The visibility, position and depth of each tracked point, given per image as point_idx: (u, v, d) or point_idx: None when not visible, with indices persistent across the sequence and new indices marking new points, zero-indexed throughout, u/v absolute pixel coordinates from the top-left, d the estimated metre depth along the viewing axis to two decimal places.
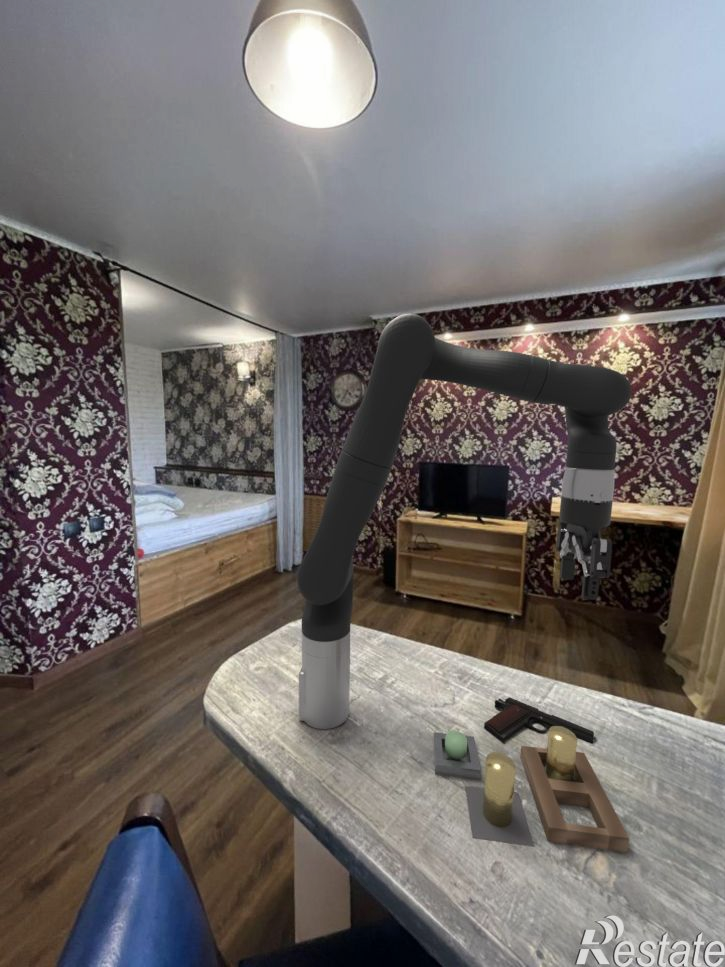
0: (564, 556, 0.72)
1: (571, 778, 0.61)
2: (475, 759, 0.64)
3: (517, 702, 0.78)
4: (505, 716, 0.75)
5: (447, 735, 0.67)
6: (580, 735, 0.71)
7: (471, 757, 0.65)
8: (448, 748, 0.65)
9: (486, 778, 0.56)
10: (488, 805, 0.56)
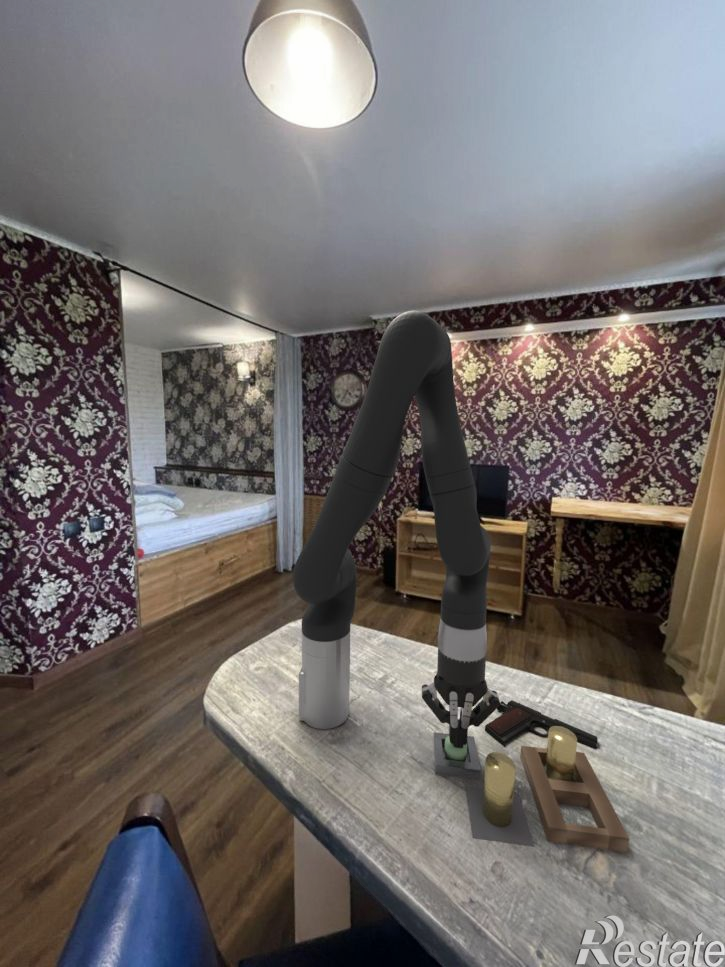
0: (457, 721, 0.64)
1: (571, 778, 0.61)
2: (475, 759, 0.64)
3: (520, 705, 0.78)
4: (507, 719, 0.74)
5: (447, 739, 0.67)
6: (583, 740, 0.70)
7: (471, 757, 0.65)
8: (448, 752, 0.65)
9: (486, 778, 0.56)
10: (488, 805, 0.56)
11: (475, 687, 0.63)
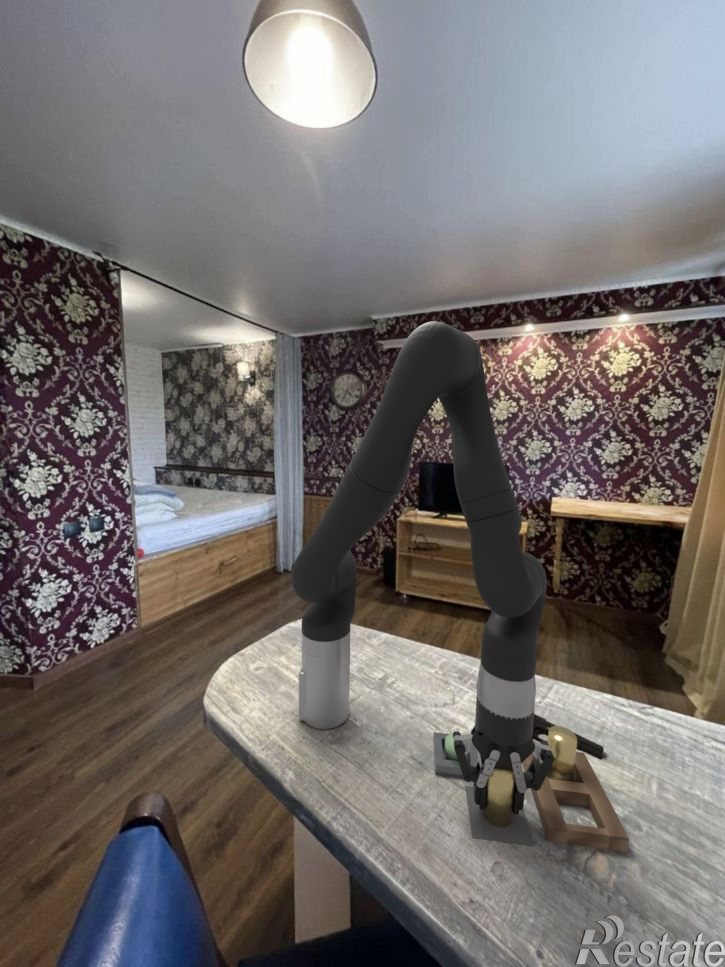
0: None
1: (571, 778, 0.61)
2: (475, 759, 0.64)
3: None
4: None
5: (447, 737, 0.67)
6: (588, 749, 0.68)
7: (471, 757, 0.65)
8: (448, 751, 0.65)
9: None
10: (488, 805, 0.56)
11: (520, 747, 0.54)
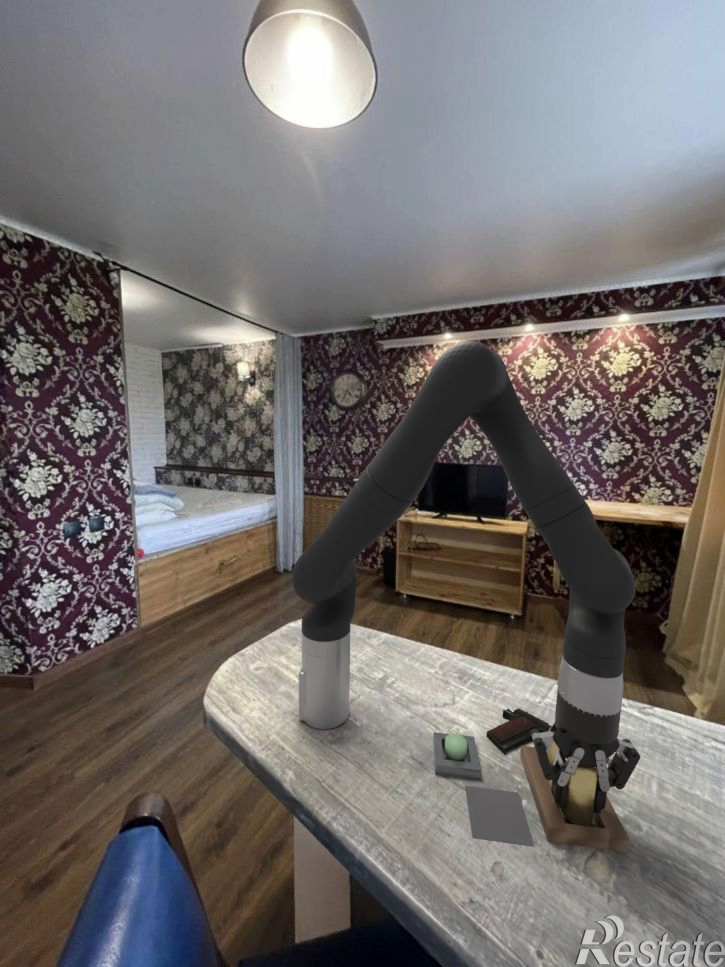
0: None
1: None
2: (475, 759, 0.64)
3: (526, 714, 0.75)
4: (510, 727, 0.72)
5: (447, 737, 0.67)
6: None
7: (471, 757, 0.65)
8: (448, 751, 0.65)
9: None
10: (570, 805, 0.55)
11: (604, 744, 0.53)
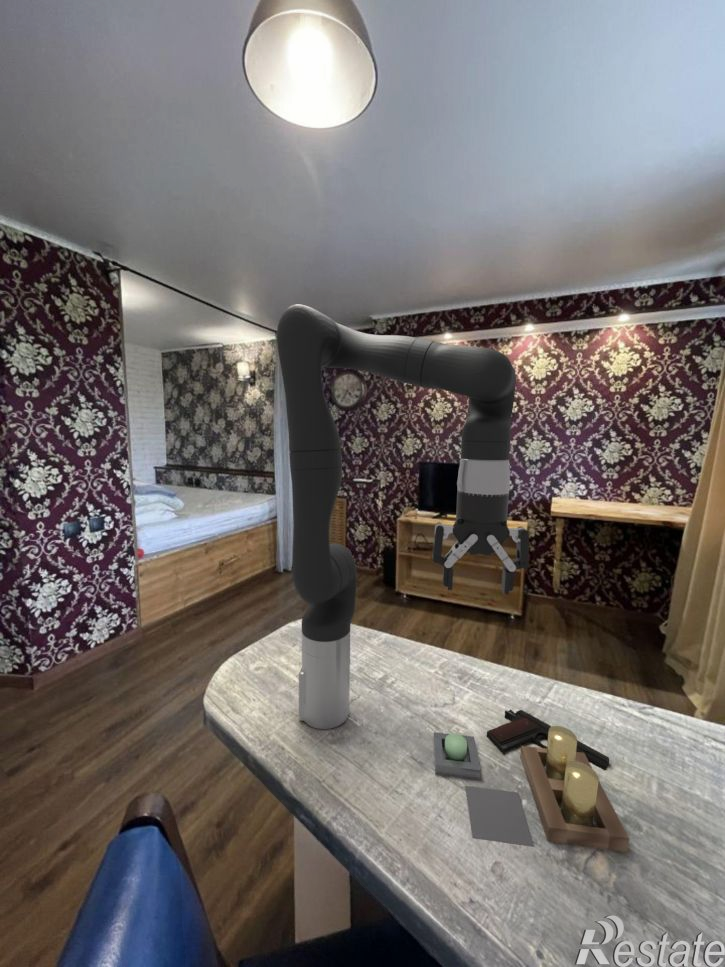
0: None
1: None
2: (475, 759, 0.64)
3: (528, 716, 0.75)
4: (511, 727, 0.72)
5: (447, 737, 0.67)
6: (592, 759, 0.66)
7: (471, 757, 0.65)
8: (448, 751, 0.65)
9: (567, 787, 0.55)
10: (570, 815, 0.55)
11: (496, 535, 0.60)
